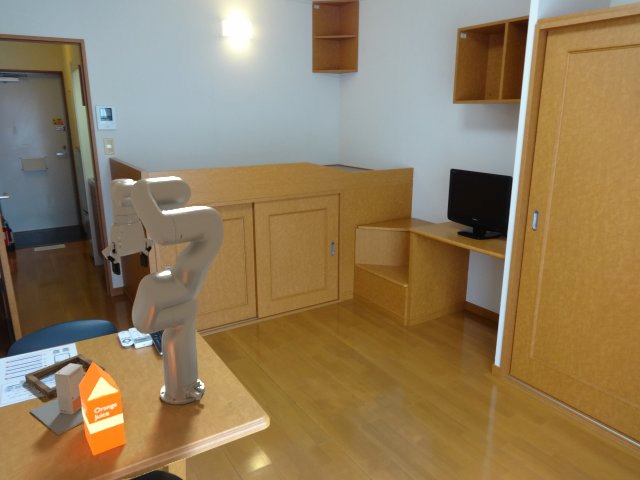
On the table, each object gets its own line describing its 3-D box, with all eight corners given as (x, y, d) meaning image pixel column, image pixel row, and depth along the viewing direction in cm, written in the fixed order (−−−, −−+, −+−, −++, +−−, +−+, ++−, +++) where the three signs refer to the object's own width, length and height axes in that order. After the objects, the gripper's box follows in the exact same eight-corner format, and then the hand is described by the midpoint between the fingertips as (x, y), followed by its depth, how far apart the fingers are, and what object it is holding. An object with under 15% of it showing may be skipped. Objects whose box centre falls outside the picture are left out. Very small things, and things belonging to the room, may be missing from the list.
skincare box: (72, 415, 128) (67, 375, 125) (59, 413, 129) (53, 373, 126) (87, 402, 134) (83, 364, 131) (74, 400, 135) (69, 362, 132)
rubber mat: (113, 407, 132) (113, 406, 132) (57, 435, 121) (57, 434, 121) (84, 387, 142) (84, 386, 142) (30, 411, 130) (29, 410, 130)
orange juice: (117, 425, 125) (109, 356, 120) (126, 443, 118) (118, 371, 113) (84, 436, 121) (75, 365, 115) (92, 456, 114) (82, 381, 109)
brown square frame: (105, 374, 149) (104, 368, 149) (48, 398, 136) (47, 392, 136) (81, 359, 158) (80, 353, 157) (25, 381, 145) (24, 375, 144)
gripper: (143, 212, 158) (147, 262, 162) (93, 221, 144) (99, 274, 149) (157, 215, 153) (161, 266, 158) (106, 225, 140) (112, 279, 145)
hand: (131, 270), depth 153 cm, fingers open, 9 cm apart
